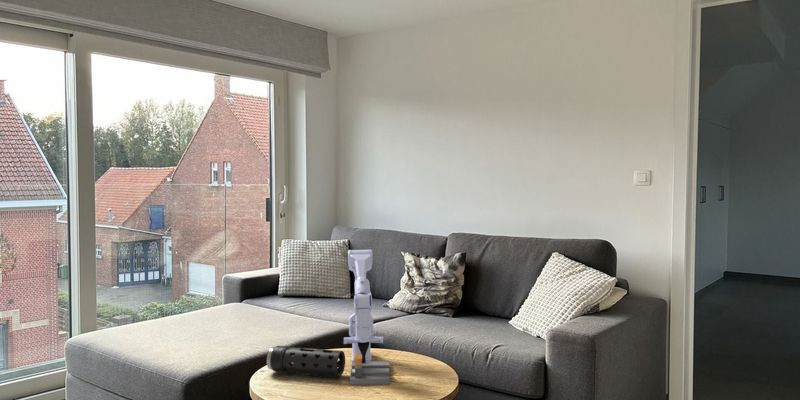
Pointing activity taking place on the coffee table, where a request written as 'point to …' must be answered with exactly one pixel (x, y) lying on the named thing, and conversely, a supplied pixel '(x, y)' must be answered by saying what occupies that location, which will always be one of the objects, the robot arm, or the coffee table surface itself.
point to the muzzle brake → (306, 361)
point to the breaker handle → (357, 359)
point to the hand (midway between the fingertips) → (363, 362)
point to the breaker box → (370, 373)
